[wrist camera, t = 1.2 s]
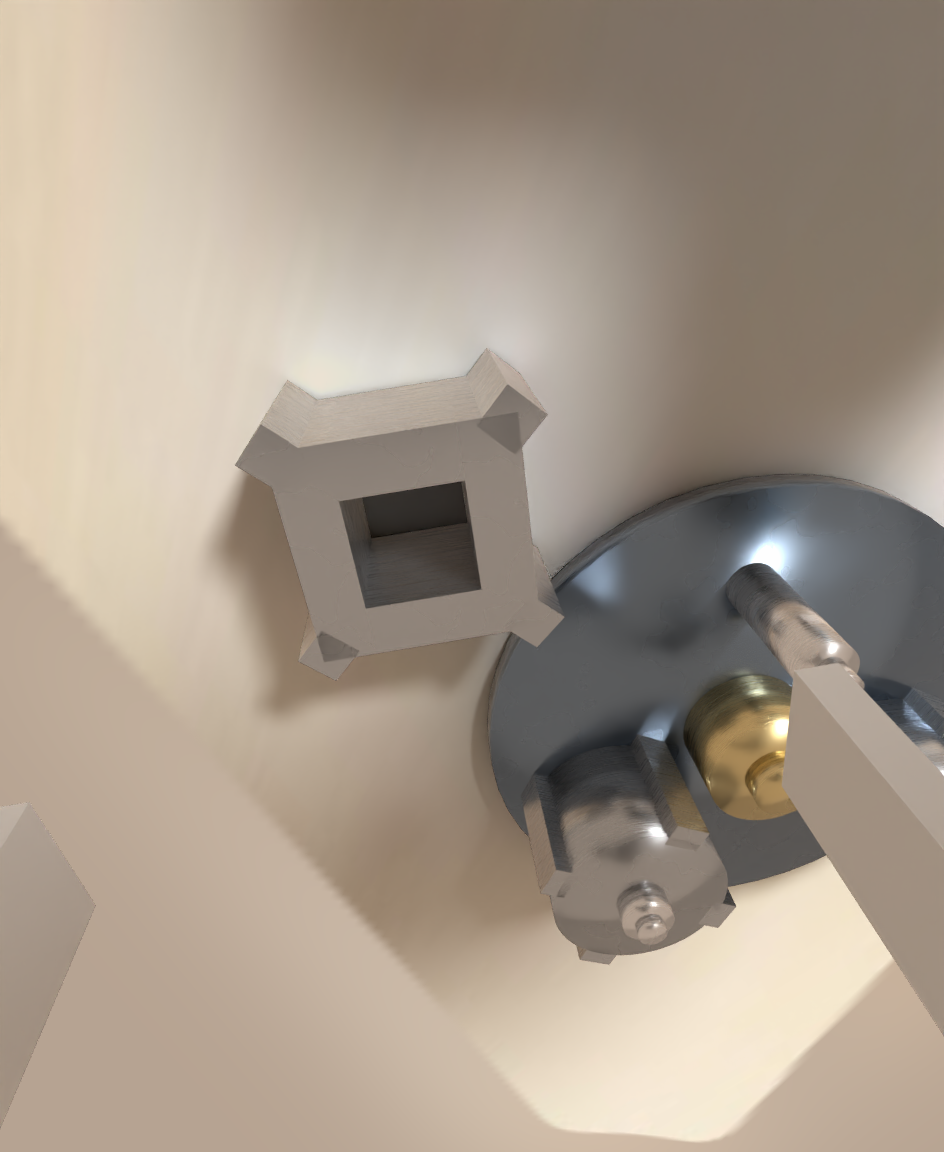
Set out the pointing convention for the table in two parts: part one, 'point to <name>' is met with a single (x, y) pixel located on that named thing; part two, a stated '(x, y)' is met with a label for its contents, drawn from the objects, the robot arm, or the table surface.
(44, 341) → the table surface
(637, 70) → the table surface
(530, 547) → the grey square frame
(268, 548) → the table surface
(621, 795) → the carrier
